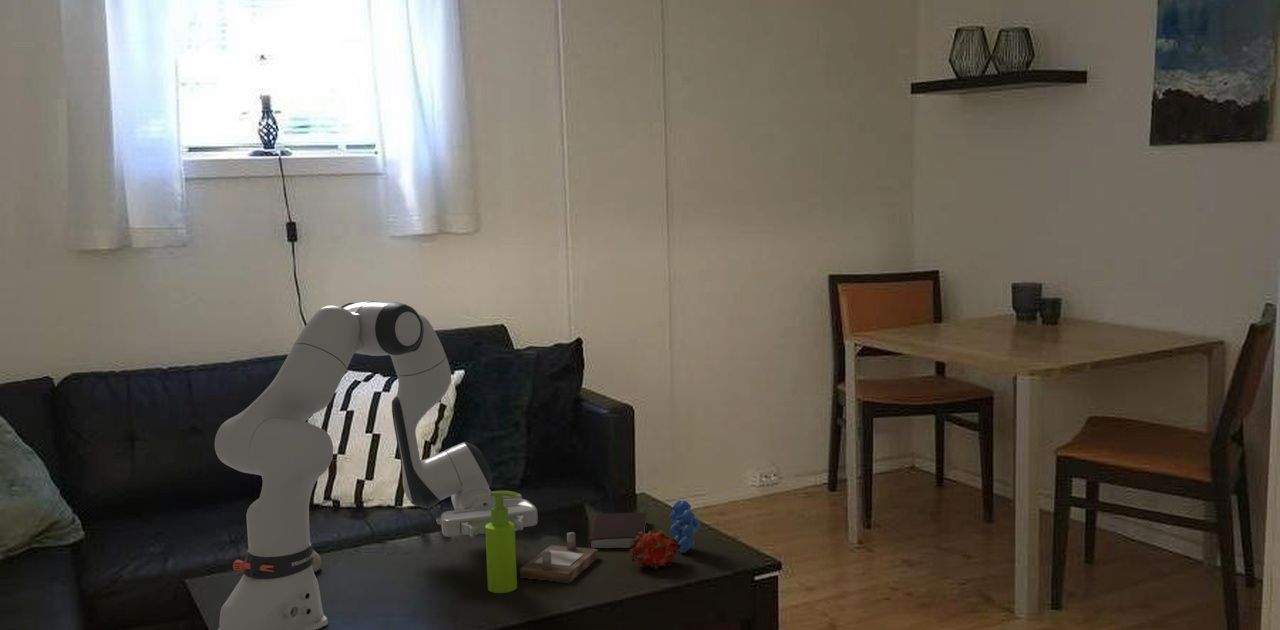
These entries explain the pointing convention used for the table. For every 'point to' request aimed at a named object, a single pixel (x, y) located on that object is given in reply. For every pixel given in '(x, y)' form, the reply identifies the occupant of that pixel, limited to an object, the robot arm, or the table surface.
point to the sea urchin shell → (316, 562)
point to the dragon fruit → (653, 549)
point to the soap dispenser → (501, 547)
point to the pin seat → (560, 562)
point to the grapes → (683, 525)
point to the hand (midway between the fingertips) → (497, 529)
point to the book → (616, 529)
